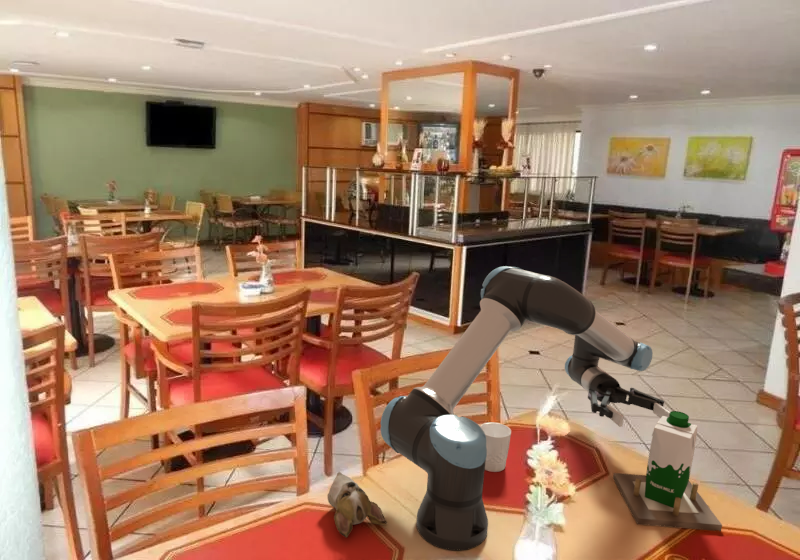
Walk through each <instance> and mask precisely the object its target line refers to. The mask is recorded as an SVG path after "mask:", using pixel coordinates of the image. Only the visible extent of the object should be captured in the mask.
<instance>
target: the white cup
mask: <svg viewBox="0 0 800 560" xmlns="http://www.w3.org/2000/svg"><path fill="white" fill-rule="evenodd" d="M479 426H480V427H481V428H482V430H483V431H484V433H485V436H486V448H487V456H486V462H485V471H488V472H493V473H497V472H501V471H503V470H505V468H506V465H507V458H508V455H509V450H510V443H511V435H512V429H511V428H510V427H509V426H508V425H505V424H503V423H499V422H491V421H490V422H484V423H482V424H481V425H479Z"/></svg>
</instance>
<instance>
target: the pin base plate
mask: <svg viewBox="0 0 800 560" xmlns="http://www.w3.org/2000/svg"><path fill="white" fill-rule="evenodd" d="M612 480H613V481H614V483H615V485H616V487H617V489H618V490H619V492H620V495H621V496H622V499H623V501H624V502H625V504H626V506H627V507H628V510H629V511H630V513H631V516H632V517H633V519H634V520H635V523H636V525H641V526H653V527H665V528H678V529H692V530H703V531H704V530H705V531H715V530H719V531H718V532H722V528H723V524H722V523H721V521H720V520H719V518H718V517H717V516H716V515H715V513H714V512H713V511H712V509H711V508H710V507H709V505H708V504H707V503H706V501H705V499H704V498H703V497H702V496H701V495H700V494H699V491H698V489H699V484H698V483H697V482H691V481H690V480H689V482H688V485H687V487H686V489H685V492H684V494H683V497H682V499H681V498H679V497H676V498H675V503H674V508H672V507H670V506H667V505H664V504H662V503H659V502H656V501H654V500H651V499H648V498H646V497H645V485H646V474H645V475H644V474H635V473H634V474H631V473H618V472H613V476H612Z"/></svg>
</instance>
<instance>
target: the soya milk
mask: <svg viewBox="0 0 800 560" xmlns="http://www.w3.org/2000/svg"><path fill="white" fill-rule="evenodd" d="M689 418H690V417H689V415H688V414H687V413H684V412H682V411H677V410H672V411H670V414H669V417H666V416H662V417H661V418H660V417H659V420H658V421H657V422H656V424H655V426H654V428H653V431H652V434H651V437H652V438H651V441H650V448H649V452H648V460H647V467H646V472H645V475H646V485H645V497H646V498H648V499H651V500H654V501H656V502H659V503H662V504H664V505H667V506H670V507H672V508H674V503H675V498H676V497H679V498H681V499H682V497H683V494H684V492H685V489H686V487H687V485H688V482H689V481H690V475H691V470H692V466H693V465H692V464H693V460H694V456H695V449H696V442H697V437H698V436H697V435H698V434H697V433H698V425H697V424H692V423H690V422H689V421H690V420H689Z"/></svg>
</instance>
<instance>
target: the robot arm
mask: <svg viewBox="0 0 800 560" xmlns="http://www.w3.org/2000/svg"><path fill="white" fill-rule="evenodd" d="M480 298H481V300H480V301H479V306H480V311H479V312H478V314H476V316H475V317H474V319H473V320H472V322H471V323H470V324H469V325H468V327H467V328H466V330H465V331H464V333H463V334H462V335H461V336H460V338H459V339H458V340H457V341H456V343H455V344H454V345H453V347H452V348H451V349H450V351H449V352H448V353H447V355H446V356H445V357H444V359H443V360H442V361H441V363H440V364H439V365H438V366H437V368H436V369H435V370H434V372H433V373H432V375H430V377H429V378H428V380H427V381H426V382H425V384H424V385H423V386H417V387H414V388H412V390H411V391H410V392H409V393H408V395H399V396H398V397H394V398H393V399H392V400H390V401H389V402H388V403H387V405H386V406H385V408H384V410H383V412H382V415H381V417H380V435H381V437H382V439H383V441H384V442H385V444H386V445H388V447H390V448H391V449H392V450H393V451H394V452H395V453H397V454H400V455H401V456H403V457H404V458H405V459H407V460H408V461H410V462H412V463H413V464H414V465H416V466H417V467H419V468H420V469H422V470H423V471H425V472H426V473H427V481H426V484H427V485H426V492H425V493H424V497H423V498H422V501H421V502H420V505H419V508H418V510H417V514H416V522H415V523H416V529H417V532H418V534H419V535H420V536H421V537H422V538H423V540H425V541H426V542H428V543H429V544H431V545H432V546H435V547H437V548H440V549H444V550H448V551H466V550H471V549H473V548H476V547H478V546H479V545H481V544H482V543H483V542H484V541H485V540H486V538H487V534H488V529H489V528H488V527H489V519H488V516H487V512H486V508H485V504H484V501H483V489H484V481H485V471H486V470H485V462H486V456H487V448H486V436H485V433H484V431H483V430H482V428H481V427H480V426H481V425H480V424H478V423H477V422H476V421H474V420H472V419H470V418H468V417H465V416H458V415H457V414H454V409H455V408H456V406H457V405H458V404H459V402H460V401H461V399H462V398H463V397H464V395H465V394H466V392H467V391H468V390H469V388H470V387H471V386H472V384H473V382H475V380H476V379H477V378H478V376H479V375H480V373H481V372H482V371H483V369H484V368H485V367H486V365H487V364H488V362H489V361H490V360H491V358H492V357H493V356H494V354H495V353H496V351H497V350H498V349H499V347H500V345H501V344H502V343H503V342H504V340H505V339H506V338H507V336H508V334H509V333H510V332H517V331H519V330H520V329H521V328H522V327H523V326H524V325H525V324H524V323H525V322H527V321H528V322H532V323H535V324H539V325H543V326H546V327H550V328H554V329H557V330H560V331H563V332H564V333H566V334H568V335H571V336H574V342H573V349H572V350H573V351H572V355H570V356H568V358H567V359H566V361H565V363H564V370H565V373H566V375H568V377H569V378H570V379H571V380H572V381H573V382H575V383H577V384H578V385H579V386H581V387H582V388H583V389H584V390H585V391H587V393H588V394H587V399H588V400H589V401H590V409H591V413H593V414H597V412H599V413H598V416H599V417H601V418H602V417H606V418H608V419H610V420H611V421H612V422H613V423H615V424H616V425H617V426H618V427H620V428H621V427H623V425H624V417H625V416H624V414H621V413H620V411H618V410H617V409H616V408H614V407H613V406H611V403H613V404H625V405H627V406H631V405H633V406H635V407H639V408H643V409H646V410H648V411H649V410H650V411H652V413H653V414H654V415H656V416H657V417H659V419H660V418H661V417H662V416H666V417H669V414H670V412H671V411H669V410H668V409H667V408H666V407H664V405H665V400H663V399H660V398H659V397H655V396H653V395H650V394H647V393H645V392H642V391H640V390H639V389H636V388H634V387H630V388H629V390H627V389H624V388H622V386H621V384H620V383H619V381H618V380H617V379H616V378H614V377H613V376H611V375H610V374H609V373H608V372H606V371H605V370H603V369H602V368H601V367H600V366H599V362H600V359H602V360H605V361H609V362H612V363H614V364H617V365H621V366H622V367H626V368H629V369H630V370H635V371H636V372H637V371H638V372H643V371H646V370H647V369H648V368H649V367H650V365H651V362H652V360H653V356H654V355H653V349H652V347H651V346H650V345H649V344H648V345H647V344H645V343H643V342H641V341H640V342H639V341H636V340H634V339H633V338H631V337H630V336H629V335H627V334H626V333H625V332H624V331H622V330H621V329H620V328H618V327H617V326H616V325H615V324H613V323H612V322H611V321H609V320H608V319H607V318H606V317H605V316H603V315H602V314H601V313H599V312H598V311H597V310H596V306H595V304H594V303H593V302H592V301H591V300H590V299H589V298H587V297H586V296H585V295H584V294H582V293H581V292H580V291H578V290H577V289H575V288H574V287H572V286H571V285H569V284H568V283H566V282H565V281H562V280H561V279H559V278H557V277H555V276H553V275H552V276H551V275H546V274H542V273H537V272H533V271H529V270H524V269H522V268H520V267H518V266H517V267H516V266H507V265H505V266H504V265H503V266H499V267H496V268H495V269H493V270H492V271H490V272H489V273H488V275H486V277H485V278H484V281H483V283H482V288H481V289H480ZM627 397H628V398H627ZM599 402H600V404H599Z"/></svg>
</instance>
